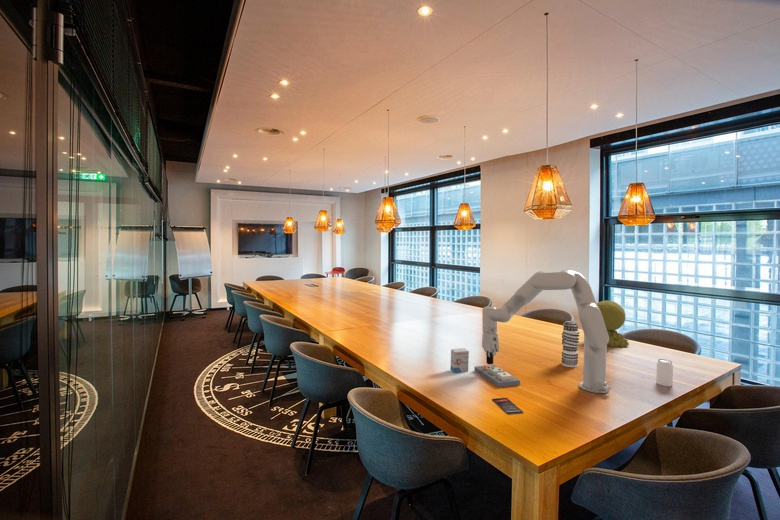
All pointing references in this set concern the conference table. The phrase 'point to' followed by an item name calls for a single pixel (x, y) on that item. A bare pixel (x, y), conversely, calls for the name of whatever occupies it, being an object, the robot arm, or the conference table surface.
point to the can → (664, 373)
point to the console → (494, 379)
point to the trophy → (613, 322)
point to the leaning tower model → (570, 344)
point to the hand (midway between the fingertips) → (489, 363)
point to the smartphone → (507, 406)
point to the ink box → (459, 360)
